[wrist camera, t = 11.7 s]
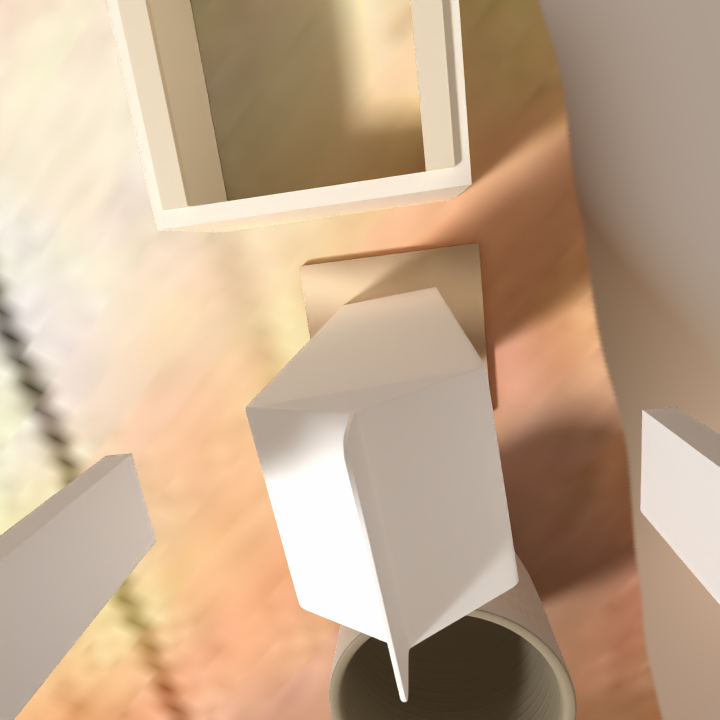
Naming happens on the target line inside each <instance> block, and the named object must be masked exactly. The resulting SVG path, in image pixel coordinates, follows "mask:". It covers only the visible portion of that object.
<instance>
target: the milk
mask: <svg viewBox="0 0 720 720" xmlns="http://www.w3.org/2000/svg"><path fill="white" fill-rule="evenodd" d="M246 414H247V418H248V421H249V425H250V428H251V432H252V436H253V439H254V443H255V446H256V450H257V453H258V457H259V461H260V464H261V468H262V471H263V475H264V479H265V482H266V486H267V489H268V493H269V497H270V500H271V504H272V507H273V511H274V515H275V518H276V522H277V525H278V529H279V532H280V536H281V540H282V543H283V547H284V550H285V554H286V558H287V561H288V565H289V568H290V572H291V576H292V579H293V583H294V586H295V590H296V594H297V597H298V601H299V604H300V606H301V607H302V608H304V609H306V610H308V611H310V612H313V613H315V614H318V615H320V616H323V617H325V618H327V619H330V620H332V621H335V622H337V623H340V624H342V625H345V626H347V627H350V628H352V629H355V630H357V631H360V632H362V633H364V634H367V635H369V636H372V637H374V638H377V639H379V640H382V641H384V642H387V644H388V648H389V652H390V657H391V661H392V665H393V669H394V674H395V678H396V682H397V687H398V691H399V695H400V699H401V701H402V702H407V700H408V655H409V649H410V648H411V647H413V646H414V645H416V644H418V643H420V642H421V641H423V640H425V639H426V638H428V637H430V636H431V635H433V634H435V633H436V632H438V631H440V630H442V629H443V628H445V627H447V626H448V625H450V624H452V623H453V622H455V621H457V620H459V619H460V618H462V617H464V616H465V615H467V614H469V613H470V612H472V611H474V610H475V609H477V608H479V607H481V606H482V605H484V604H486V603H487V602H489V601H491V600H492V599H494V598H496V597H497V596H499V595H501V594H503V593H504V592H506V591H508V590H509V589H511V588H513V587H514V586H515V585H516V584H517V583H518V581H519V579H518V571H517V564H516V558H515V551H514V545H513V538H512V532H511V525H510V519H509V512H508V506H507V499H506V493H505V486H504V480H503V473H502V467H501V460H500V454H499V447H498V441H497V434H496V428H495V421H494V414H493V408H492V401H491V395H490V388H489V382H488V375H487V370H486V366H485V364H484V363H483V361H482V360H481V358H480V356H479V355H478V353H477V352H476V350H475V348H474V347H473V345H472V344H471V342H470V340H469V339H468V337H467V336H466V334H465V332H464V331H463V329H462V328H461V326H460V324H459V323H458V321H457V320H456V318H455V316H454V315H453V313H452V312H451V310H450V308H449V307H448V305H447V304H446V302H445V300H444V299H443V297H442V296H441V294H440V292H439V291H438V289H437V288H436V287H432V288H427V289H422V290H417V291H412V292H407V293H402V294H397V295H392V296H387V297H382V298H377V299H372V300H367V301H362V302H357V303H352V304H347V305H343V306H342V307H341V308H340V309H339V310H338V311H337V312H336V313H335V314H334V315H333V316H332V317H331V318H330V320H329V321H328V322H327V323H326V324H325V325H324V326H323V327H322V328H321V329H320V330H319V331H318V332H317V333H316V334H315V335H314V336H313V337H312V338H311V339H310V340H309V342H308V343H307V344H306V345H305V346H304V347H303V348H302V349H301V350H300V351H299V352H298V353H297V354H296V355H295V356H294V357H293V358H292V359H291V360H290V361H289V362H288V364H287V365H286V366H285V367H284V368H283V369H282V370H281V371H280V372H279V373H278V374H277V375H276V376H275V377H274V378H273V379H272V380H271V381H270V382H269V383H268V384H267V386H266V387H265V388H264V389H263V390H262V391H261V392H260V393H259V394H258V395H257V396H256V397H255V398H254V399H253V400H252V401H251V402H250V403H249V404H248V406H247V407H246Z"/></svg>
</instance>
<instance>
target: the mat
mask: <svg viewBox="0 0 720 720" xmlns="http://www.w3.org/2000/svg"><path fill="white" fill-rule="evenodd" d="M299 269H300V276H301V282H302V288H303V295H304V301H305V308H306V314H307V320H308V327H309V333H310V339H311V338H312V337H313V336H314V335H315V334H316V333H317V332H318V331H319V330H320V329H321V328H322V327H323V326H324V325H325V324H326V323H327V322H328V321H329V320H330V318H331V317H332V316H333V315H334V314H335V313H336V312H337V311H338V310H339V309H340V308H341V307H342V306H343V305H347V304H352V303H357V302H362V301H367V300H372V299H377V298H382V297H387V296H392V295H397V294H402V293H407V292H412V291H417V290H422V289H427V288H432V287H436V288H437V289H438V291H439V292H440V294H441V296H442V297H443V299H444V300H445V302H446V304H447V305H448V307H449V308H450V310H451V312H452V313H453V315H454V316H455V318H456V320H457V321H458V323H459V324H460V326H461V328H462V329H463V331H464V332H465V334H466V336H467V337H468V339H469V340H470V342H471V344H472V345H473V347H474V348H475V350H476V352H477V353H478V355H479V356H480V358H481V360H482V361H483V363H484V364H485V366H486V370H487V375H488V367H487V353H486V338H485V323H484V309H483V294H482V280H481V265H480V250H479V243H474V244H466V245H458V246H451V247H443V248H435V249H428V250H420V251H412V252H405V253H397V254H389V255H381V256H374V257H366V258H358V259H351V260H343V261H335V262H327V263H320V264H312V265H304V266H299Z"/></svg>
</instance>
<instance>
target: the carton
mask: <svg viewBox="0 0 720 720" xmlns="http://www.w3.org/2000/svg"><path fill="white" fill-rule="evenodd" d="M410 2H411V13H412V24H413V35H414V46H415V57H416V68H417V79H418V90H419V101H420V112H421V123H422V134H423V145H424V156H425V167H426V172H420V173H413V174H406V175H399V176H393V177H386V178H379V179H373V180H366V181H359V182H353V183H346V184H339V185H333V186H326V187H319V188H313V189H306V190H299V191H293V192H286V193H279V194H273V195H266V196H259V197H253V198H246V199H239V200H232V201H227V197H226V191H225V186H224V180H223V175H222V170H221V164H220V159H219V154H218V148H217V143H216V137H215V132H214V127H213V121H212V116H211V110H210V105H209V100H208V94H207V89H206V83H205V78H204V73H203V67H202V62H201V56H200V51H199V46H198V40H197V35H196V30H195V24H194V19H193V13H192V8H191V3H190V0H106V4H107V8H108V13H109V17H110V22H111V26H112V31H113V35H114V40H115V44H116V49H117V53H118V58H119V62H120V67H121V71H122V76H123V80H124V85H125V89H126V94H127V98H128V103H129V107H130V112H131V116H132V121H133V126H134V130H135V135H136V139H137V144H138V148H139V153H140V157H141V162H142V166H143V171H144V175H145V180H146V184H147V189H148V193H149V198H150V202H151V207H152V211H153V216H154V220H155V225H156V229H157V230H169V231H196V232H227V231H234V230H241V229H248V228H255V227H262V226H270V225H277V224H284V223H291V222H298V221H305V220H312V219H319V218H326V217H333V216H340V215H347V214H354V213H361V212H368V211H376V210H383V209H390V208H397V207H404V206H411V205H418V204H425V203H432V202H439V201H446V200H453V199H455V198H456V197H457V196H459V195H460V194H461V193H462V192H463V191H465V190H466V189H467V188H468V187H469V186H470V185H472V181H471V167H470V152H469V138H468V124H467V110H466V95H465V81H464V67H463V52H462V38H461V24H460V9H459V0H410Z"/></svg>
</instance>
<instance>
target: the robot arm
mask: <svg viewBox="0 0 720 720" xmlns="http://www.w3.org/2000/svg"><path fill="white" fill-rule="evenodd" d="M641 459H642V460H641V505H640V511H641V512H642V514H643V515H644V516H645V517H646V518H647V519H648V521H649V522H650V523H651V524H652V525H653V527H654V528H655V529H656V530H657V531H658V532H659V534H660V535H661V536H662V537H663V538H664V540H665V541H666V542H667V543H668V544H669V545H670V547H671V548H672V549H673V550H674V551H675V552H676V554H677V555H678V556H679V557H680V558H681V559H682V561H683V562H684V563H685V564H686V565H687V567H688V568H689V569H690V570H691V571H692V572H693V574H694V575H695V576H696V577H697V578H698V580H699V581H700V582H701V583H702V584H703V586H704V587H706V589H707V590H708V591H709V593H710V594H711V595H712V596H713V597H714V598H715V600H716V601H717V602H718V603H719V604H720V434H718V433H717V432H715V431H713V430H712V429H710V428H709V427H707V426H706V425H704V424H702V423H701V422H699V421H698V420H696V419H694V418H693V417H692V416H690V415H688V414H687V413H685V412H684V411H682V410H681V409H679V408H678V407H668V408H657V409H645V410H642V454H641ZM155 542H156V540H155V536H154V532H153V529H152V525H151V521H150V518H149V514H148V510H147V507H146V503H145V500H144V496H143V492H142V489H141V485H140V481H139V478H138V474H137V470H136V467H135V463H134V459H133V456H132V454H121V455H109V456H105V457H104V458H102V459H101V460H100V461H98V462H97V463H96V464H94V465H93V466H92V467H90V468H89V469H88V470H86V471H85V472H84V473H82V474H81V475H80V476H79V477H77V478H76V479H75V480H73V481H72V482H71V483H69V484H68V485H67V486H65V487H64V488H63V489H61V490H60V491H59V492H57V493H56V494H55V495H53V496H52V497H51V498H49V499H48V500H47V501H45V502H44V503H43V504H42V505H40V506H39V507H38V508H36V509H35V510H34V511H32V512H31V513H30V514H28V515H27V516H26V517H24V518H23V519H22V520H20V521H19V522H18V523H16V524H15V525H14V526H12V527H11V528H10V529H8V530H7V531H6V532H5V533H3V534H2V535H1V536H0V720H14V719H15V718H16V716H17V715H18V714H19V713H20V711H21V710H22V709H23V708H24V706H25V705H26V704H27V703H28V701H29V700H30V699H31V698H32V696H33V695H34V694H35V693H36V691H37V690H38V689H39V687H40V686H41V685H42V684H43V682H44V681H45V680H46V679H47V677H48V676H49V675H50V674H51V672H52V671H53V670H54V669H55V667H56V666H57V665H58V664H59V662H60V661H61V660H62V659H63V657H64V656H65V655H66V654H67V652H68V651H69V650H70V649H71V647H72V646H73V645H74V644H75V642H76V641H77V640H78V639H79V637H80V636H81V635H82V633H83V632H84V631H85V630H86V628H87V627H88V626H89V625H90V623H91V622H92V621H93V620H94V618H95V617H96V616H97V615H98V613H99V612H100V611H101V610H102V608H103V607H104V606H105V605H106V603H107V602H108V601H109V600H110V598H111V597H112V596H113V595H114V593H115V592H116V591H117V590H118V588H119V587H120V586H121V584H122V583H123V582H124V581H125V579H126V578H127V577H128V576H129V574H130V573H131V572H132V571H133V569H134V568H135V567H136V566H137V564H138V563H139V562H140V561H141V559H142V558H143V557H144V556H145V554H146V553H147V552H148V551H149V549H150V548H151V547H152V546H153V544H154V543H155Z"/></svg>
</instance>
